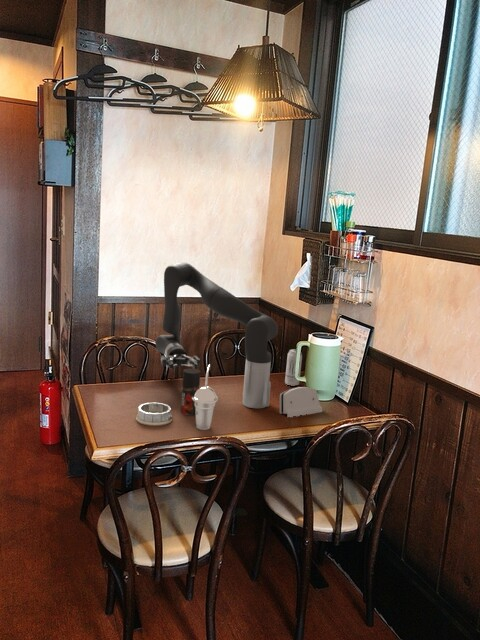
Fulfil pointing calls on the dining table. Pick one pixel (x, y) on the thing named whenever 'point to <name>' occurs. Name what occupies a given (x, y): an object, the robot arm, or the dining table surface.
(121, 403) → the dining table surface
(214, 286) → the robot arm
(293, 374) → the energy drink can
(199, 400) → the cup with straw
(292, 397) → the hinge
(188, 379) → the deodorant
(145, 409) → the silver bowl
